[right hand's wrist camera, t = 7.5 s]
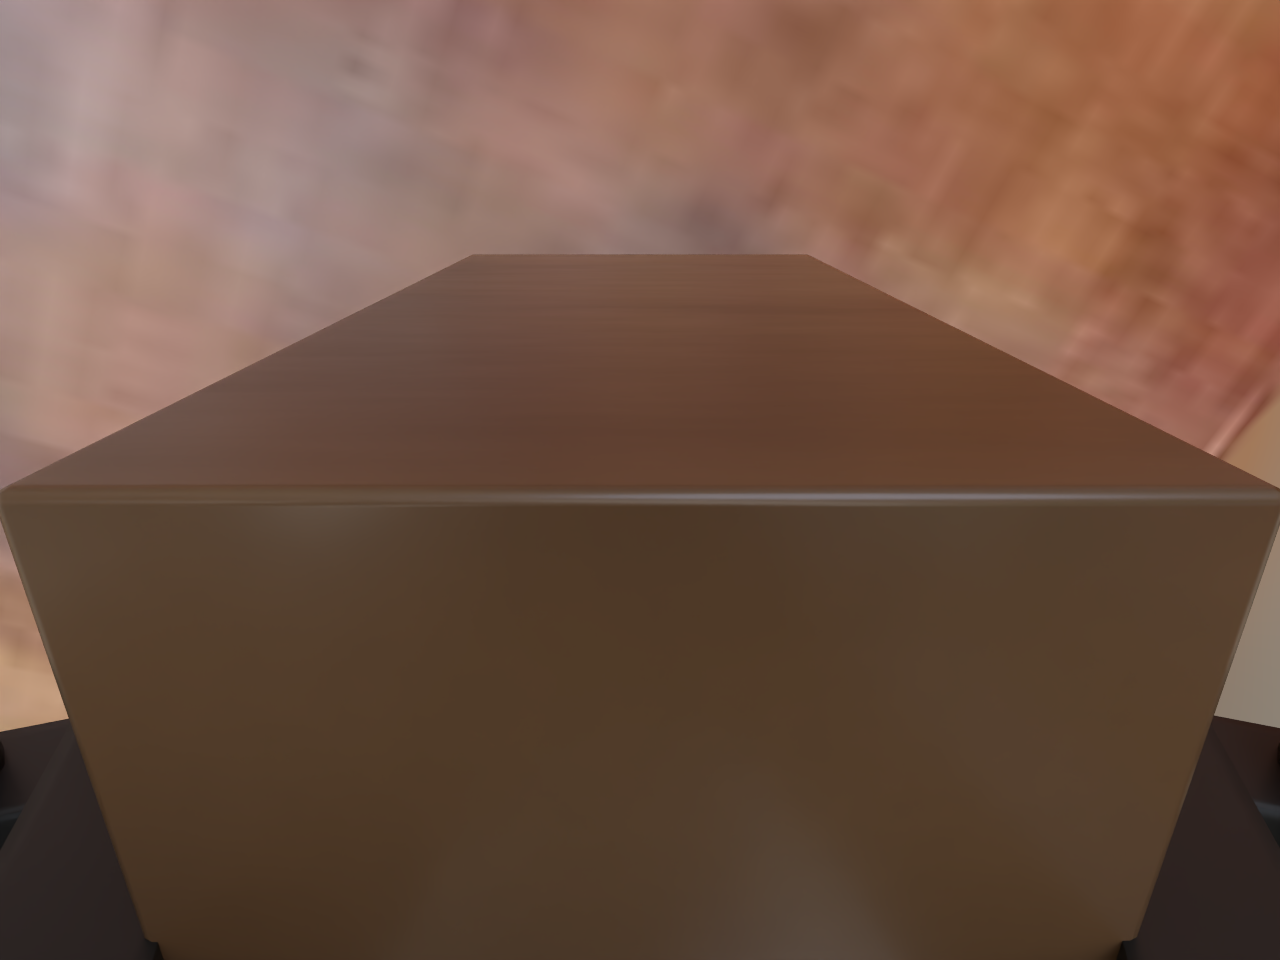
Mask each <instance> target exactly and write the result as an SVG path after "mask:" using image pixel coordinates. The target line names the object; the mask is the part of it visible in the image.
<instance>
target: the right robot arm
mask: <svg viewBox="0 0 1280 960" xmlns="http://www.w3.org/2000/svg"><path fill="white" fill-rule="evenodd" d="M0 960H164V959H163V956H162V953H161V950H160V947H159V944H158V942H151V941H149V940H147V939H145V937H144V934H143V931H142V929H141V926H140V923H139V920H138V917H137V914H136V911H135V908H134V905H133V902H132V900H131V897H130V894H129V891H128V888H127V885H126V882H125V879H124V876H123V873H122V871H121V868H120V865H119V862H118V859H117V856H116V853H115V850H114V847H113V845H112V842H111V839H110V836H109V833H108V830H107V827H106V824H105V821H104V818H103V816H102V813H101V810H100V807H99V804H98V801H97V798H96V795H95V792H94V789H93V787H92V784H91V781H90V778H89V775H88V772H87V769H86V766H85V763H84V760H83V758H82V755H81V752H80V749H79V746H78V743H77V740H76V737H75V734H74V732H73V729H72V726H71V723H70V720H69V719H65V720H60V721H55V722H49V723H44V724H39V725H34V726H29V727H24V728H18V729H13V730H8V731H3V732H0ZM1116 960H1280V728H1276V727H1271V726H1265V725H1260V724H1255V723H1249V722H1245V721H1239V720H1234V719H1229V718H1224V717H1218V716H1213V719H1212V722H1211V725H1210V728H1209V731H1208V733H1207V736H1206V739H1205V742H1204V745H1203V748H1202V751H1201V754H1200V757H1199V759H1198V762H1197V765H1196V768H1195V771H1194V774H1193V777H1192V780H1191V783H1190V785H1189V788H1188V791H1187V794H1186V797H1185V800H1184V803H1183V806H1182V808H1181V811H1180V814H1179V817H1178V820H1177V823H1176V826H1175V829H1174V832H1173V834H1172V837H1171V840H1170V843H1169V846H1168V849H1167V852H1166V855H1165V858H1164V860H1163V863H1162V866H1161V869H1160V872H1159V875H1158V878H1157V881H1156V884H1155V886H1154V889H1153V892H1152V895H1151V898H1150V901H1149V904H1148V907H1147V910H1146V912H1145V915H1144V918H1143V921H1142V924H1141V927H1140V930H1139V933H1138V936H1137V937H1136V938H1134V939H1132V940H1130V941H1122V944H1121V947H1120V950H1119V953H1118V956H1117V959H1116Z"/></svg>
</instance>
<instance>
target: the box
mask: <svg viewBox="0 0 1280 960" xmlns="http://www.w3.org/2000/svg"><path fill="white" fill-rule="evenodd" d="M0 520H1V523H2V526H3V529H4V532H5V535H6V537H7V540H8V543H9V546H10V549H11V552H12V555H13V558H14V561H15V563H16V566H17V569H18V572H19V575H20V578H21V581H22V584H23V587H24V590H25V592H26V595H27V598H28V601H29V604H30V607H31V610H32V613H33V616H34V619H35V621H36V624H37V627H38V630H39V633H40V636H41V639H42V642H43V645H44V648H45V650H46V653H47V656H48V659H49V662H50V665H51V668H52V671H53V674H54V676H55V679H56V682H57V685H58V688H59V691H60V694H61V697H62V700H63V703H64V705H65V708H66V711H67V714H68V717H69V720H70V723H71V726H72V729H73V732H74V734H75V737H76V740H77V743H78V746H79V749H80V752H81V755H82V758H83V760H84V763H85V766H86V769H87V772H88V775H89V778H90V781H91V784H92V787H93V789H94V792H95V795H96V798H97V801H98V804H99V807H100V810H101V813H102V816H103V818H104V821H105V824H106V827H107V830H108V833H109V836H110V839H111V842H112V845H113V847H114V850H115V853H116V856H117V859H118V862H119V865H120V868H121V871H122V873H123V876H124V879H125V882H126V885H127V888H128V891H129V894H130V897H131V900H132V902H133V905H134V908H135V911H136V914H137V917H138V920H139V923H140V926H141V929H142V931H143V934H144V937H145V939H147V940H149V941H151V942H158V944H159V947H160V950H161V953H162V956H163V959H164V960H1116V959H1117V956H1118V953H1119V950H1120V947H1121V944H1122V941H1130V940H1132V939H1134V938H1136V937H1137V936H1138V933H1139V930H1140V927H1141V924H1142V921H1143V918H1144V915H1145V912H1146V910H1147V907H1148V904H1149V901H1150V898H1151V895H1152V892H1153V889H1154V886H1155V884H1156V881H1157V878H1158V875H1159V872H1160V869H1161V866H1162V863H1163V860H1164V858H1165V855H1166V852H1167V849H1168V846H1169V843H1170V840H1171V837H1172V834H1173V832H1174V829H1175V826H1176V823H1177V820H1178V817H1179V814H1180V811H1181V808H1182V806H1183V803H1184V800H1185V797H1186V794H1187V791H1188V788H1189V785H1190V783H1191V780H1192V777H1193V774H1194V771H1195V768H1196V765H1197V762H1198V759H1199V757H1200V754H1201V751H1202V748H1203V745H1204V742H1205V739H1206V736H1207V733H1208V731H1209V728H1210V725H1211V722H1212V719H1213V716H1214V713H1215V710H1216V707H1217V705H1218V702H1219V699H1220V696H1221V693H1222V690H1223V687H1224V684H1225V681H1226V678H1227V676H1228V673H1229V670H1230V667H1231V664H1232V661H1233V658H1234V655H1235V653H1236V650H1237V647H1238V644H1239V641H1240V638H1241V635H1242V632H1243V629H1244V627H1245V624H1246V621H1247V618H1248V615H1249V612H1250V609H1251V606H1252V604H1253V600H1254V598H1255V595H1256V592H1257V589H1258V586H1259V583H1260V580H1261V577H1262V575H1263V572H1264V569H1265V566H1266V563H1267V560H1268V557H1269V554H1270V552H1271V549H1272V546H1273V543H1274V540H1275V537H1276V534H1277V531H1278V528H1279V526H1280V489H1279V488H1277V487H1275V486H1273V485H1271V484H1269V483H1267V482H1265V481H1263V480H1261V479H1259V478H1257V477H1255V476H1253V475H1251V474H1249V473H1247V472H1245V471H1243V470H1241V469H1239V468H1237V467H1235V466H1233V465H1231V464H1229V463H1227V462H1225V461H1223V460H1221V459H1219V458H1217V457H1215V456H1213V455H1211V454H1209V453H1207V452H1205V451H1203V450H1201V449H1199V448H1197V447H1195V446H1193V445H1190V444H1188V443H1186V442H1184V441H1182V440H1180V439H1178V438H1176V437H1174V436H1172V435H1170V434H1168V433H1166V432H1164V431H1162V430H1160V429H1158V428H1156V427H1154V426H1152V425H1150V424H1148V423H1146V422H1144V421H1142V420H1140V419H1138V418H1136V417H1134V416H1132V415H1130V414H1128V413H1126V412H1124V411H1122V410H1120V409H1118V408H1116V407H1114V406H1112V405H1110V404H1108V403H1106V402H1104V401H1102V400H1100V399H1098V398H1096V397H1094V396H1092V395H1090V394H1088V393H1086V392H1084V391H1082V390H1080V389H1078V388H1076V387H1074V386H1072V385H1069V384H1067V383H1065V382H1063V381H1061V380H1059V379H1057V378H1055V377H1053V376H1051V375H1049V374H1047V373H1045V372H1043V371H1041V370H1039V369H1037V368H1035V367H1033V366H1031V365H1029V364H1027V363H1025V362H1023V361H1021V360H1019V359H1017V358H1015V357H1013V356H1011V355H1009V354H1007V353H1005V352H1003V351H1001V350H999V349H997V348H995V347H993V346H991V345H989V344H987V343H985V342H983V341H981V340H979V339H977V338H975V337H973V336H971V335H969V334H967V333H965V332H963V331H961V330H959V329H957V328H955V327H953V326H950V325H948V324H946V323H944V322H942V321H940V320H938V319H936V318H934V317H932V316H930V315H928V314H926V313H924V312H922V311H920V310H918V309H916V308H914V307H912V306H910V305H908V304H906V303H904V302H902V301H900V300H898V299H896V298H894V297H892V296H890V295H888V294H886V293H884V292H882V291H880V290H878V289H876V288H874V287H872V286H870V285H868V284H866V283H864V282H862V281H860V280H858V279H856V278H854V277H852V276H850V275H848V274H846V273H844V272H842V271H840V270H838V269H836V268H834V267H832V266H829V265H827V264H825V263H823V262H821V261H819V260H817V259H815V258H813V257H811V256H809V255H471V256H469V257H467V258H465V259H463V260H461V261H459V262H457V263H455V264H453V265H451V266H449V267H447V268H445V269H443V270H441V271H439V272H437V273H435V274H433V275H431V276H429V277H427V278H425V279H423V280H421V281H419V282H417V283H415V284H413V285H411V286H409V287H407V288H405V289H403V290H401V291H399V292H397V293H395V294H393V295H391V296H389V297H387V298H385V299H383V300H381V301H379V302H377V303H375V304H372V305H370V306H368V307H366V308H364V309H362V310H360V311H358V312H356V313H354V314H352V315H350V316H348V317H346V318H344V319H342V320H340V321H338V322H336V323H334V324H332V325H330V326H328V327H326V328H324V329H322V330H320V331H318V332H316V333H314V334H312V335H310V336H308V337H306V338H304V339H302V340H300V341H298V342H296V343H294V344H292V345H290V346H288V347H286V348H284V349H282V350H280V351H278V352H276V353H274V354H272V355H270V356H268V357H266V358H264V359H262V360H260V361H258V362H256V363H254V364H252V365H250V366H248V367H246V368H244V369H242V370H240V371H238V372H236V373H234V374H232V375H230V376H228V377H226V378H224V379H222V380H220V381H218V382H216V383H214V384H212V385H210V386H208V387H206V388H204V389H202V390H200V391H198V392H196V393H194V394H192V395H190V396H188V397H186V398H184V399H182V400H180V401H178V402H176V403H173V404H171V405H169V406H167V407H165V408H163V409H161V410H159V411H157V412H155V413H153V414H151V415H149V416H147V417H145V418H143V419H141V420H139V421H137V422H135V423H133V424H131V425H129V426H127V427H125V428H123V429H121V430H119V431H117V432H115V433H113V434H111V435H109V436H107V437H105V438H103V439H101V440H99V441H97V442H95V443H93V444H91V445H89V446H87V447H85V448H83V449H81V450H79V451H77V452H75V453H73V454H71V455H69V456H67V457H65V458H63V459H61V460H59V461H57V462H55V463H53V464H51V465H49V466H47V467H45V468H43V469H41V470H39V471H37V472H35V473H33V474H31V475H29V476H27V477H25V478H23V479H21V480H19V481H17V482H15V483H13V484H11V485H9V486H7V487H5V488H3V489H1V490H0Z"/></svg>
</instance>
